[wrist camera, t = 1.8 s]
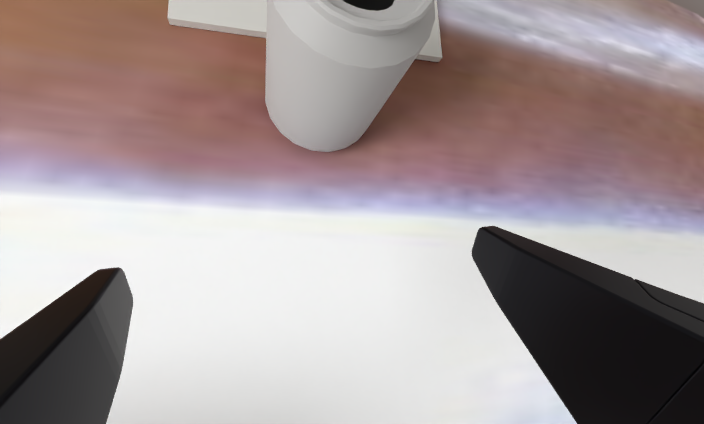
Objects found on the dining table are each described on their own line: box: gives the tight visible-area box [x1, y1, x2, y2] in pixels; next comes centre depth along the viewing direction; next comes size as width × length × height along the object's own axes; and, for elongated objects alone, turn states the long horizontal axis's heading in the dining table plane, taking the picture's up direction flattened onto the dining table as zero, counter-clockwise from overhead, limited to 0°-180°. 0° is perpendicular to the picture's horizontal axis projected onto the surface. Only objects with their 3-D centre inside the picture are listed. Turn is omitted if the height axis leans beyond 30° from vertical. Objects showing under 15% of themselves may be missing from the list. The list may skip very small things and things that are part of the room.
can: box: [265, 0, 435, 152], centre depth 19 cm, size 8×8×12 cm
